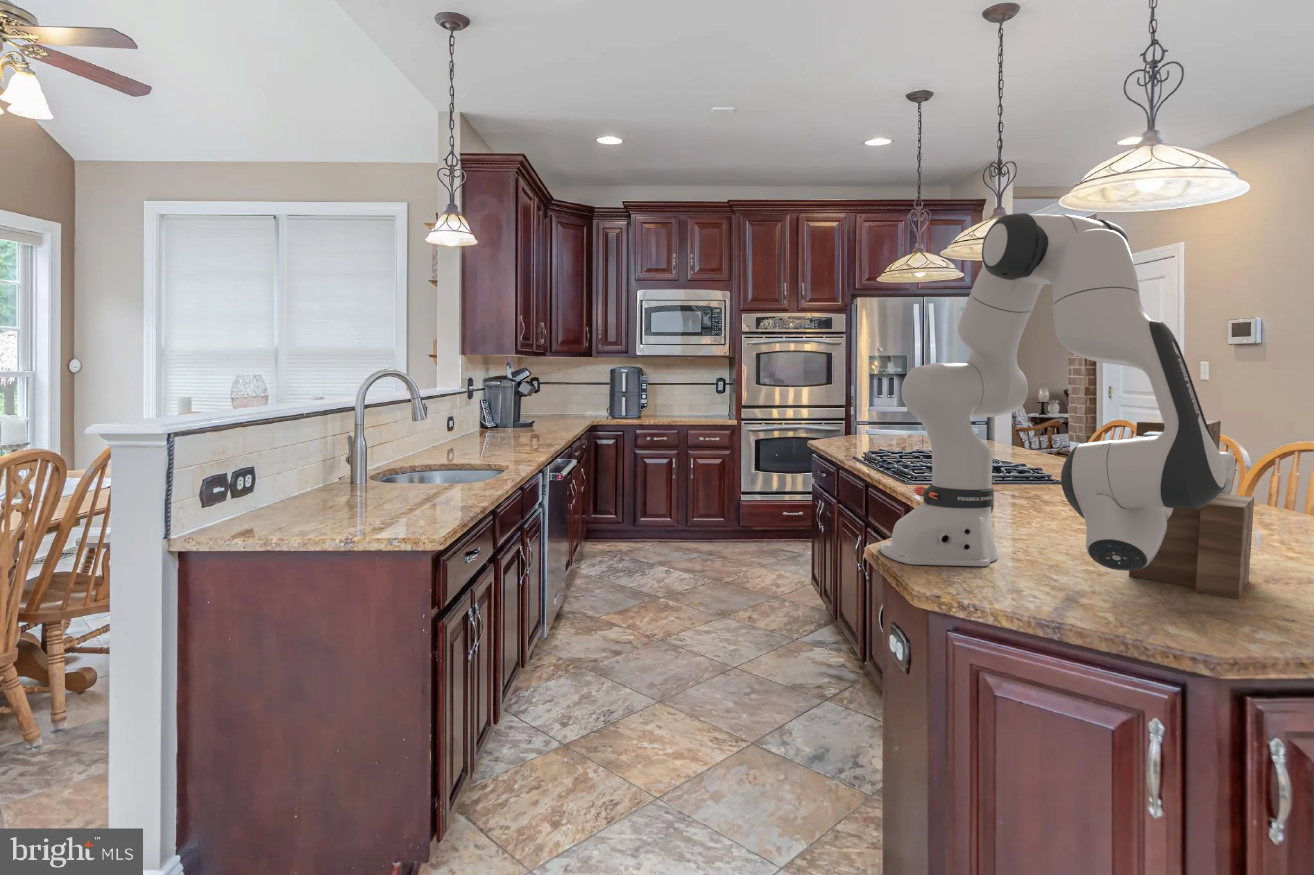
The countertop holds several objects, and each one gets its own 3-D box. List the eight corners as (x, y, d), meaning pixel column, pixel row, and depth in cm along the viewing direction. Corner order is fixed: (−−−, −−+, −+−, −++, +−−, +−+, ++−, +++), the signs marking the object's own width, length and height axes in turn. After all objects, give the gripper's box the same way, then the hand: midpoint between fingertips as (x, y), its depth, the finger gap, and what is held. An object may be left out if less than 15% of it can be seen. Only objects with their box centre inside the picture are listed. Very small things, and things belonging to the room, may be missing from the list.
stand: (1238, 598, 112) (1249, 426, 109) (1125, 579, 123) (1133, 422, 120) (1250, 577, 123) (1260, 421, 121) (1146, 562, 134) (1153, 418, 132)
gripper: (1229, 480, 96) (1242, 426, 104) (1064, 468, 111) (1087, 422, 119) (1230, 515, 99) (1243, 461, 107) (1069, 499, 113) (1091, 452, 121)
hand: (1159, 440), depth 113 cm, fingers closed on plug, 3 cm apart
